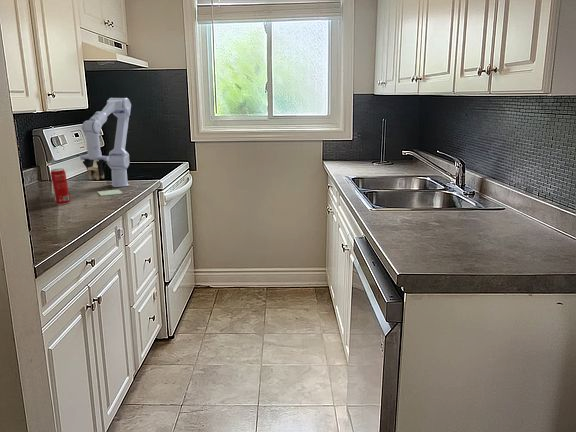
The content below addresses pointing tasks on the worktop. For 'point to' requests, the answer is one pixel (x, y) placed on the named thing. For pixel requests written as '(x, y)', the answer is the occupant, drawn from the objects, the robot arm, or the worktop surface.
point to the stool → (96, 172)
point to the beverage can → (60, 186)
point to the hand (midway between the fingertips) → (96, 175)
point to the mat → (109, 192)
